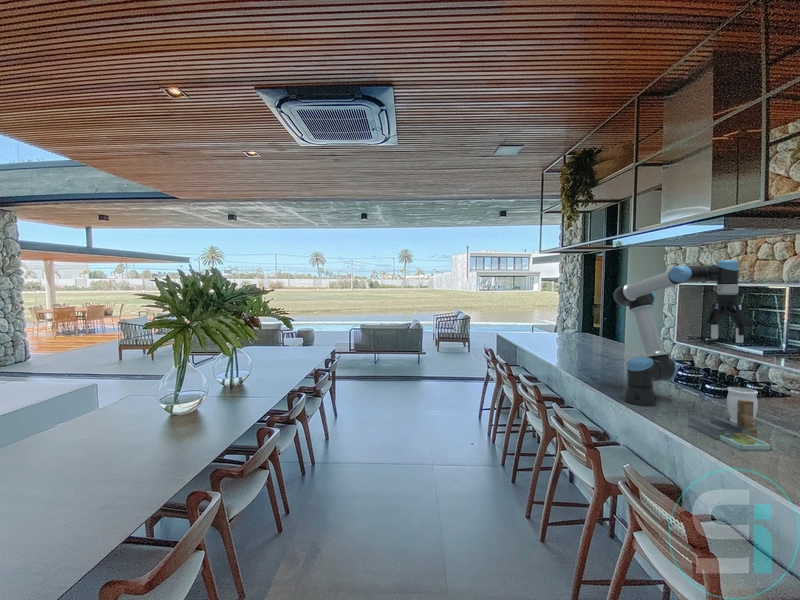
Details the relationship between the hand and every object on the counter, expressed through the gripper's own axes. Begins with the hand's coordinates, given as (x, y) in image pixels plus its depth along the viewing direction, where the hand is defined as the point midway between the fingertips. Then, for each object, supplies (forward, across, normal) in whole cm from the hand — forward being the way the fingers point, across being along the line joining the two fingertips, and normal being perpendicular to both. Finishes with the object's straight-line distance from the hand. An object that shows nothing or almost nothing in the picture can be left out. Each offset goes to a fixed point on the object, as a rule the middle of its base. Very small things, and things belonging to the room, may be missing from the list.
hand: (726, 340), depth 175 cm
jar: (+37, +4, +4) cm, 37 cm away
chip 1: (+36, +26, -16) cm, 48 cm away
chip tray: (+37, +28, -16) cm, 49 cm away
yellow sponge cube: (+35, +28, -16) cm, 47 cm away
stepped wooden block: (+37, +17, -6) cm, 41 cm away
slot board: (+37, +15, -16) cm, 43 cm away
